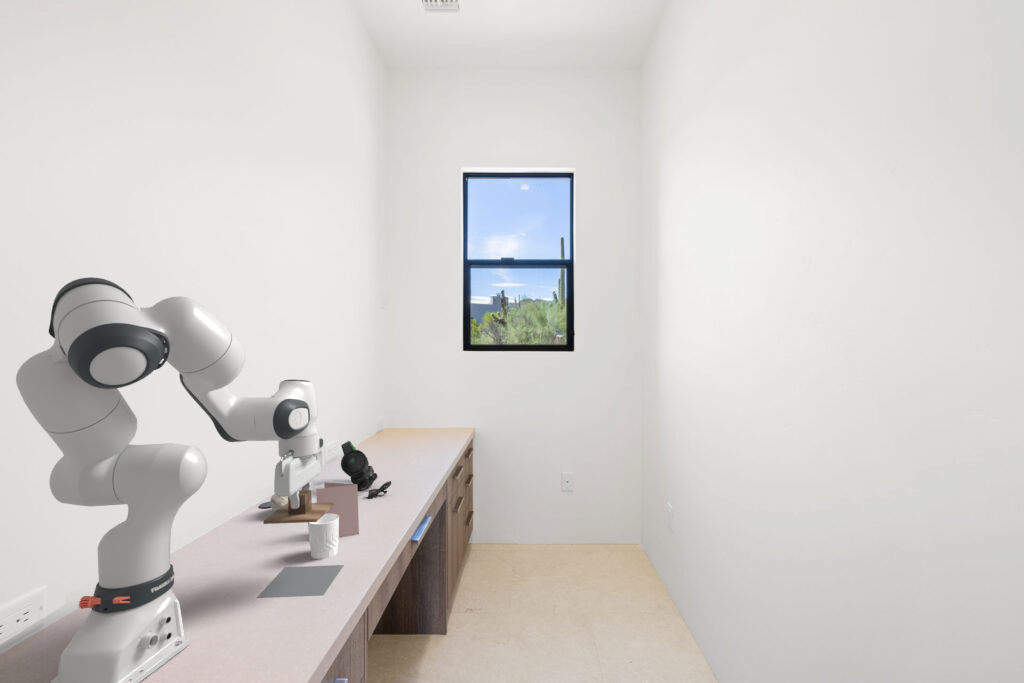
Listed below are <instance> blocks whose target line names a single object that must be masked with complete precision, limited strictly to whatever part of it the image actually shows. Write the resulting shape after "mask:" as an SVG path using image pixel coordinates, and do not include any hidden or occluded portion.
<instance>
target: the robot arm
mask: <svg viewBox="0 0 1024 683" xmlns="http://www.w3.org/2000/svg"><path fill="white" fill-rule="evenodd" d="M48 334H49V335H50V337H52V338H53V339H54V342H53V344H52V346H50V347H49V349H46V350H44V351H41V352H39V353H37V354H34V355H32V356H31V357H29V358H28V359H27V360H25V362H23V363H22V364H21V365H20V366H19V368H18V369H17V373H16V376H15V383H16V386H17V388H18V391H19V394H20V396H21V397H22V400H23V402H24V403H25V405H26V407H27V409H28V410H29V412H30V413H31V415H32V416H33V418H34V419H35V420H36V422H37V423H38V425H40V426H41V427H42V429H43V430H44V431H45V433H47V434H48V436H49V437H50V438H51V440H52V441H53V442H54V443H55V445H56V446H57V447H58V448H59V449H60V451H61V453H62V455H63V456H62V457H61V458H60V459H59V460H58V461H57V462H56V463H55V465H54V466H53V468H52V470H51V472H50V476H49V480H48V481H49V489H50V492H51V495H52V496H53V497H54V498H55V500H57V501H58V502H59V503H61V504H66V505H74V506H81V507H83V506H84V507H102V506H104V507H105V506H106V507H107V506H121V505H127V508H128V510H127V516H126V519H125V520H124V521H122V522H121V523H118V524H117V525H115V526H114V527H112V528H110V529H109V530H108V531H107V532H106V533H104V535H103V536H102V537H101V538H100V540H99V543H98V546H97V567H98V568H97V570H98V571H97V573H98V581H97V583H96V585H95V588H94V591H93V595H92V596H90V595H84V596H82V597H81V598H80V599H79V601H78V608H79V609H87V608H89V609H91V610H90V611H89V614H88V615H87V616H86V617H85V619H84V620H83V622H82V624H81V625H80V626H79V627H78V629H77V631H76V632H75V633H74V635H73V637H72V638H71V639H70V641H69V642H68V644H67V645H66V647H65V648H64V650H63V651H62V652H61V654H60V657H59V662H58V669H57V670H58V671H57V675H56V676H55V677H54V678H53V679H52V680H51V681H50V682H49V683H141V682H142V681H144V679H146V678H147V677H148V676H150V675H152V673H154V672H155V671H157V670H158V669H159V668H160V667H161V666H163V665H164V664H165V663H167V662H168V661H170V660H171V659H172V658H174V657H175V656H176V655H177V654H179V653H180V652H182V651H183V650H184V649H185V648H187V647H188V646H189V645H190V643H191V642H190V637H189V636H188V635H186V634H185V632H184V625H183V624H184V623H183V618H182V610H181V606H180V601H179V600H178V598H177V597H176V593H175V592H174V590H173V586H174V584H175V571H174V566H173V564H172V563H171V535H172V527H173V523H174V520H175V518H176V515H177V514H178V512H179V510H180V509H181V507H182V506H183V504H185V503H186V501H187V500H188V499H190V498H191V497H192V496H193V495H195V494H196V493H197V492H198V491H199V489H201V488H202V486H203V484H204V482H205V480H206V478H207V475H208V463H207V459H206V456H205V454H204V453H203V452H202V450H200V449H199V447H197V446H193V445H187V444H181V443H172V442H171V443H169V442H168V443H152V444H151V443H148V444H130V443H131V442H132V441H133V439H134V438H135V436H136V433H137V429H138V419H137V418H138V417H137V416H136V414H135V413H134V411H133V410H132V408H131V407H130V405H129V404H128V402H127V401H126V399H125V397H124V396H123V395H122V394H121V392H120V390H119V389H120V388H124V387H128V386H131V385H134V384H136V383H138V382H140V381H141V380H144V379H145V378H147V377H148V376H149V375H151V374H152V373H153V372H154V371H156V370H159V369H161V368H162V367H163V366H164V365H165V363H166V362H167V363H168V364H169V365H170V366H171V367H172V368H173V369H175V370H176V371H177V372H178V373H179V380H180V383H181V385H182V387H183V388H184V390H185V391H186V392H187V394H189V396H190V397H191V399H193V400H194V401H195V403H196V404H197V405H198V406H199V407H200V409H202V411H204V412H205V414H206V415H207V416H208V417H209V419H210V421H211V422H212V423H213V426H214V427H215V430H216V431H217V434H218V435H219V436H220V437H221V438H222V439H223V440H224V441H227V442H229V443H238V442H239V443H240V442H241V443H242V442H257V441H258V442H267V441H272V442H273V441H276V442H278V457H280V460H279V461H278V462H277V463H276V465H275V468H274V478H273V479H274V481H273V482H274V483H273V484H274V485H273V486H274V487H273V488H274V490H273V493H274V494H275V495H276V496H277V497H287V496H288V497H289V499H290V501H291V508H292V509H297V508H299V507H300V506H301V499H299V495H298V494H299V490H311V488H312V481H313V480H314V479H315V478H317V477H319V475H321V473H322V470H323V456H324V454H323V447H324V446H325V439H324V438H323V437H321V436H319V430H318V428H317V418H318V402H317V393H316V389H315V385H314V384H313V382H312V381H309V380H306V379H284V380H282V381H280V382H279V384H278V390H277V391H276V392H275V393H274V394H272V395H271V396H269V397H268V396H267V397H245V396H237V395H233V394H232V393H231V391H229V389H228V388H227V386H229V385H230V384H231V383H233V381H234V380H235V379H236V378H237V377H238V376H239V375H240V374H241V372H242V371H243V368H244V366H245V365H244V364H245V361H246V360H245V359H246V352H245V349H244V347H243V345H242V343H241V341H240V340H239V339H238V338H237V336H236V335H235V334H234V333H233V332H232V331H231V330H230V329H229V328H228V327H227V326H226V325H225V324H224V323H223V322H222V321H221V320H220V319H219V318H218V316H217V317H216V316H215V314H213V313H212V312H211V311H209V310H208V309H207V308H206V307H204V305H202V304H200V303H198V302H197V301H196V300H194V299H192V298H189V297H186V296H171V297H168V298H164V299H162V300H160V301H158V302H156V303H155V304H154V305H152V306H149V307H140V308H138V307H137V305H136V304H135V301H134V300H133V298H132V296H131V295H130V293H128V292H127V291H126V290H125V289H124V288H123V287H121V285H119V284H116V283H115V282H114V281H111V280H108V279H105V278H101V277H93V276H92V277H91V276H90V277H82V278H78V279H74V280H72V281H69V282H67V283H66V284H65V285H63V286H62V287H61V289H59V291H58V292H57V294H56V295H55V298H54V299H53V303H52V307H51V314H50V320H49V327H48Z"/></svg>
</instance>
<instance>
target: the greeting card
mask: <svg viewBox="0 0 1024 683" xmlns="http://www.w3.org/2000/svg"><path fill="white" fill-rule="evenodd" d="M323 483H324V484H323V485H324V488H323V487H322V488H316V489H315V490H316V491H315V492H316V503H332V502H334V505H333V506H332V507H331V508H330V509H329V510H328V511H327V512H326V513H325V514H336V515H338V516H339V538H342V537H341V536H344V537H349V536H348V535H351V536H356V535H355V534H358V535H360V527H359V526H360V525H359V524H360V523H359V519H360V518H359V497H358V496H359V494H358V493H359V492H358V491H359V490H358V488H357V484H353V483H342V482H328V481H327V482H326V481H325V482H323Z"/></svg>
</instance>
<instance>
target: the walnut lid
mask: <svg viewBox="0 0 1024 683" xmlns="http://www.w3.org/2000/svg"><path fill="white" fill-rule="evenodd" d="M298 495H299V499H301V506H300V507H299V508H297V509H292V508H291V501H290V499H289V497H288V504H285V505H284V506H283V507H281V508H280V509H279V510H277V511H275V512H273V513H272V514H270V516H268V517H267V518H266V519H264V521H263V525H269V524H270V525H271V524H272V525H273V524H276V525H277V524H297V523H302V524H303V523H308V522H317V521H318V520H319V519H320V518H321V517H322V516H323V515H324V514H325V513H326V512H327V511H328V510H329V509H330V508H331V507H332V506H333V505H334V502H332V503H317V502H312V489H310V490H302V489H299V494H298Z"/></svg>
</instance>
